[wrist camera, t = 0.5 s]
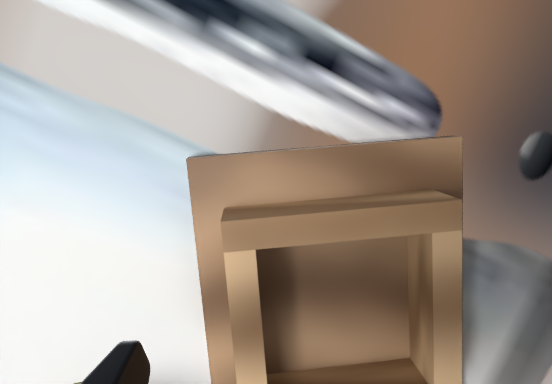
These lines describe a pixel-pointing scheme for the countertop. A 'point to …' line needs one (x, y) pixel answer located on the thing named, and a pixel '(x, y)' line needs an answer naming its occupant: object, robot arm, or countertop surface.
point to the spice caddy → (332, 262)
